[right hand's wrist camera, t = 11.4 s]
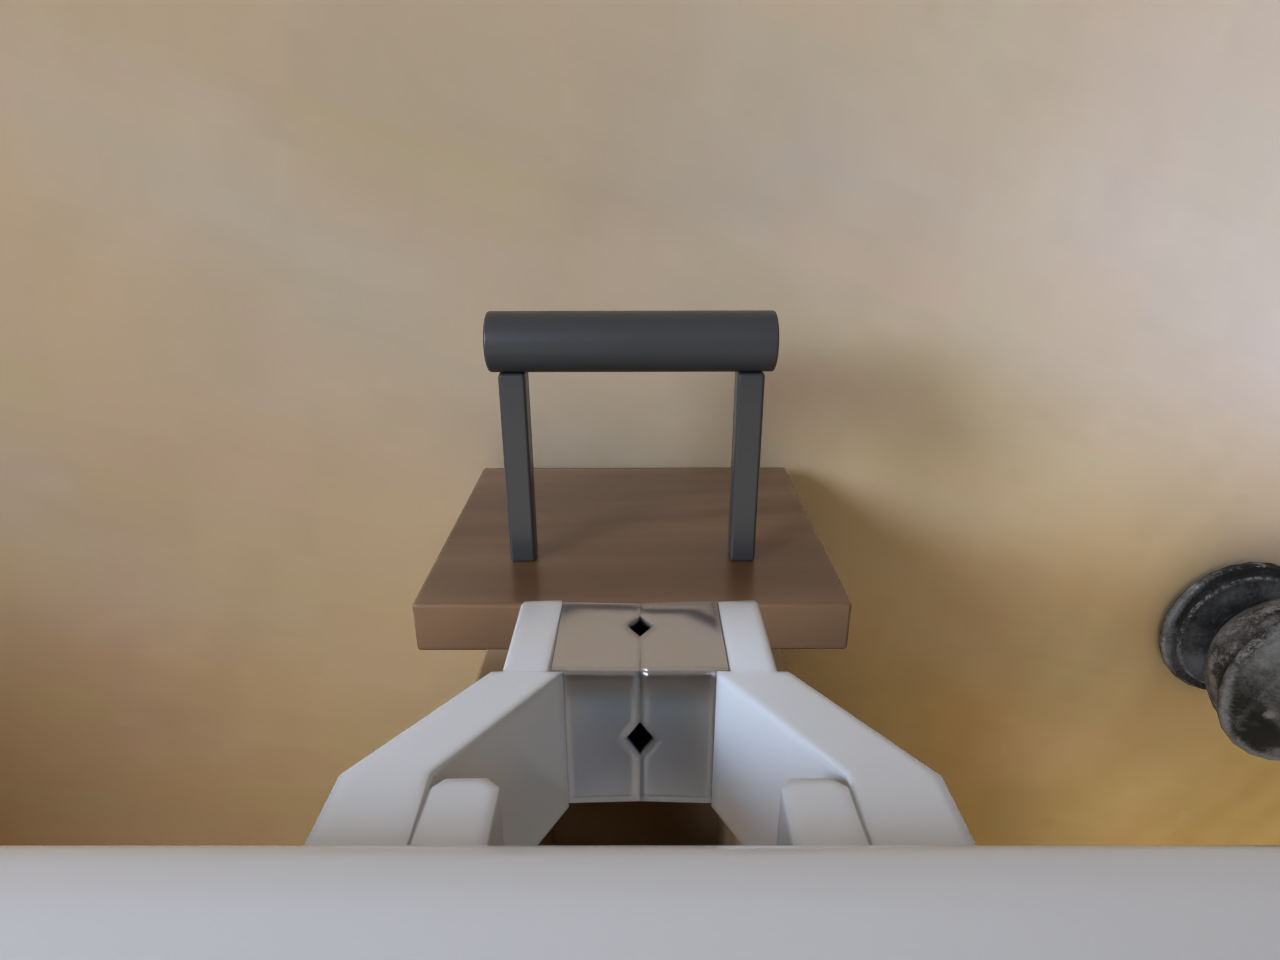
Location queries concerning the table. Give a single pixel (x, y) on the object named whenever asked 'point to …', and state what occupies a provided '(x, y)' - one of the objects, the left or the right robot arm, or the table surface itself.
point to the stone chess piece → (1232, 650)
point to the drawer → (631, 525)
